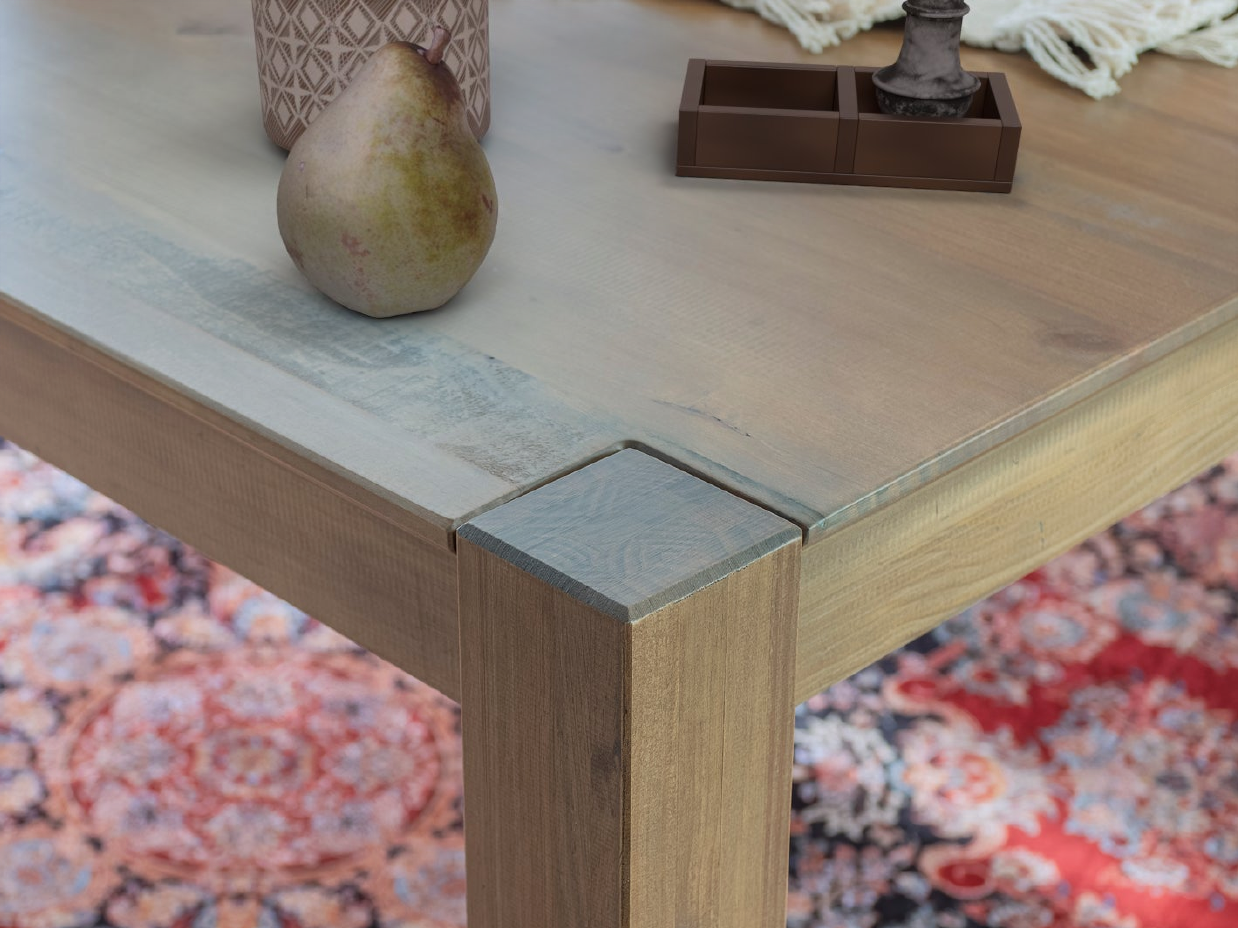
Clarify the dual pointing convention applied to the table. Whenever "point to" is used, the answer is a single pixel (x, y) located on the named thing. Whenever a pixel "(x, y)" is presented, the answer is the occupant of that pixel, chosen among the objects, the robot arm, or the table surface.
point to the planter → (358, 53)
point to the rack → (838, 129)
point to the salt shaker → (928, 64)
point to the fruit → (390, 187)
